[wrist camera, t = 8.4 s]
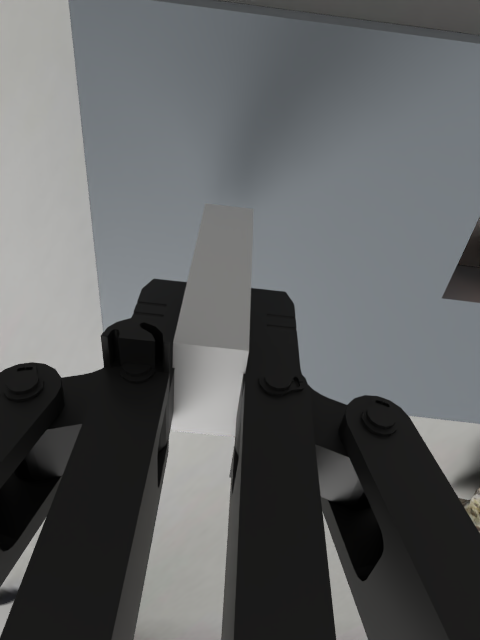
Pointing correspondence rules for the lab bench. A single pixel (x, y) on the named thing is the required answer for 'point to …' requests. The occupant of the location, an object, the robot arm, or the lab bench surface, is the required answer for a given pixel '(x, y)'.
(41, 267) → the lab bench surface
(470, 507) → the mineral specimen
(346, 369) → the grey flat block
